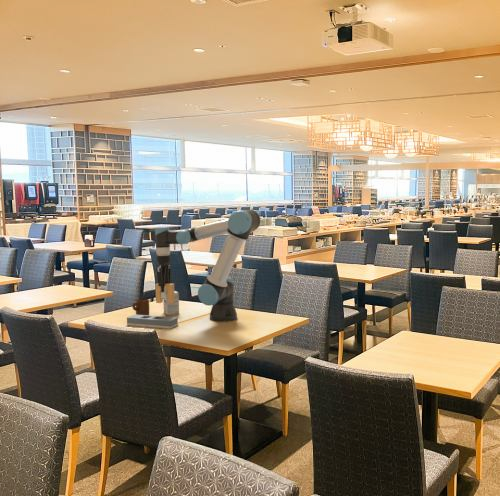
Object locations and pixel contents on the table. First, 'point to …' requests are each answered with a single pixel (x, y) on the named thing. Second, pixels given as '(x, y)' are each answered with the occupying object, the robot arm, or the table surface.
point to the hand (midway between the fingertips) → (165, 297)
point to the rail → (152, 321)
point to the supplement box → (171, 305)
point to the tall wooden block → (170, 293)
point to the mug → (141, 306)
